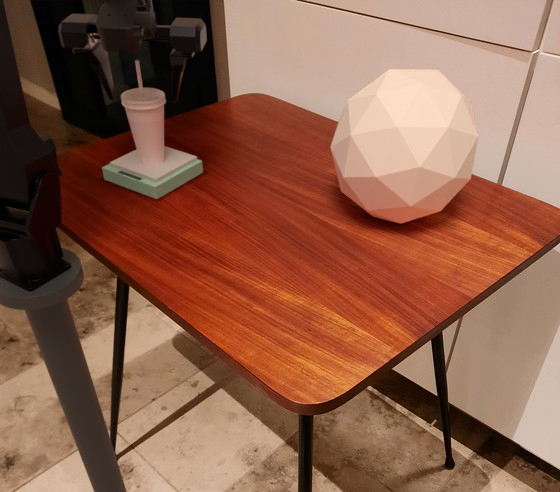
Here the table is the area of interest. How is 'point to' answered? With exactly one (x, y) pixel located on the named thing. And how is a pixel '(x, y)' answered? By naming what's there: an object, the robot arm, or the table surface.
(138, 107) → the smoothie
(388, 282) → the table surface
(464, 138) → the ball
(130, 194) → the table surface
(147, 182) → the scale
